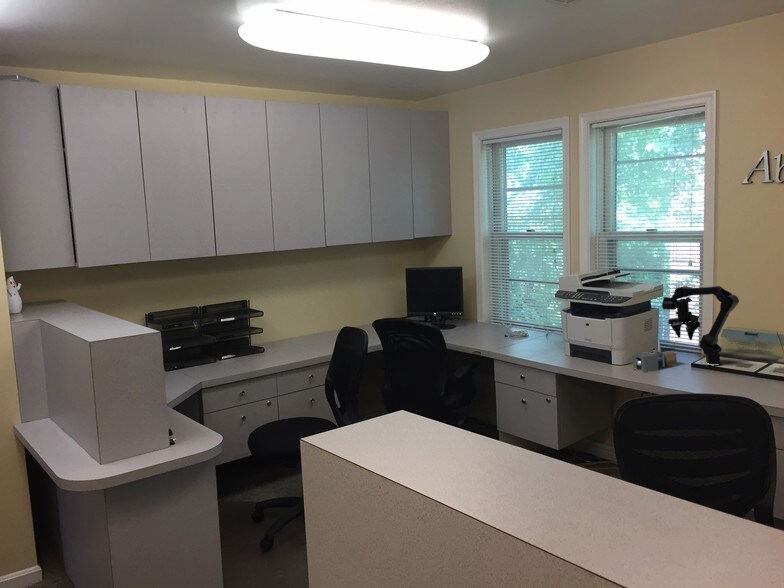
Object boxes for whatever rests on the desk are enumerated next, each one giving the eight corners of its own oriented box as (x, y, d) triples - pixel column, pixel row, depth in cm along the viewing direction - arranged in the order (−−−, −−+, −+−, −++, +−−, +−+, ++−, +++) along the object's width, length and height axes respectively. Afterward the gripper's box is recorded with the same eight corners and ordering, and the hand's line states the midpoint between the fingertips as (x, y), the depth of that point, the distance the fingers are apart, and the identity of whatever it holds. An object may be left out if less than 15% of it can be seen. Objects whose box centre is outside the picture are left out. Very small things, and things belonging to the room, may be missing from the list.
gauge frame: (675, 367, 339) (673, 351, 338) (645, 372, 335) (643, 357, 334) (658, 362, 352) (657, 348, 351) (629, 367, 348) (628, 353, 347)
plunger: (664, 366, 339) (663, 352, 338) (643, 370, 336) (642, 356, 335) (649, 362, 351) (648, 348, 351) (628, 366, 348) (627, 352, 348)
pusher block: (676, 365, 342) (676, 352, 341) (667, 367, 341) (666, 354, 340) (670, 363, 347) (669, 351, 346) (661, 365, 346) (660, 352, 345)
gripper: (708, 309, 336) (710, 338, 338) (684, 306, 354) (686, 334, 356) (689, 312, 334) (691, 341, 335) (666, 309, 352) (668, 337, 353)
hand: (684, 338), depth 345 cm, fingers open, 9 cm apart
